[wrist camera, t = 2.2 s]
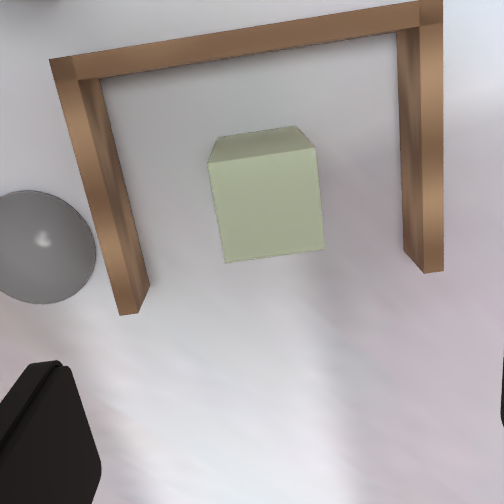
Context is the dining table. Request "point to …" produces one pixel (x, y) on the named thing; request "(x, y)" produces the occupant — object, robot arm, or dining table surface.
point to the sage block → (266, 194)
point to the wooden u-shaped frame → (248, 43)
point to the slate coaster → (43, 248)
